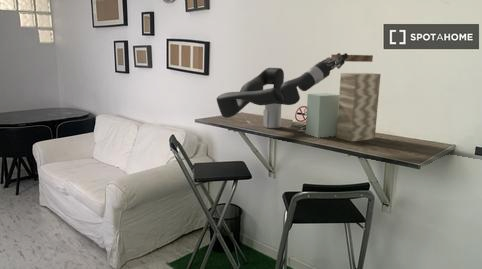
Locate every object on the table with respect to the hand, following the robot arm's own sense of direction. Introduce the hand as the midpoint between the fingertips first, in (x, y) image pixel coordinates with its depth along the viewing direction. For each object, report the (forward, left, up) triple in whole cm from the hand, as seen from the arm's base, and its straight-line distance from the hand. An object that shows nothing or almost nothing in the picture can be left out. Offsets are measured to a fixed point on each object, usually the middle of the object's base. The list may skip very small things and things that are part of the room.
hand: (343, 55), depth 176 cm
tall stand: (+11, +2, -41) cm, 42 cm away
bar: (+6, +1, -3) cm, 6 cm away
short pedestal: (-2, +13, -41) cm, 43 cm away
